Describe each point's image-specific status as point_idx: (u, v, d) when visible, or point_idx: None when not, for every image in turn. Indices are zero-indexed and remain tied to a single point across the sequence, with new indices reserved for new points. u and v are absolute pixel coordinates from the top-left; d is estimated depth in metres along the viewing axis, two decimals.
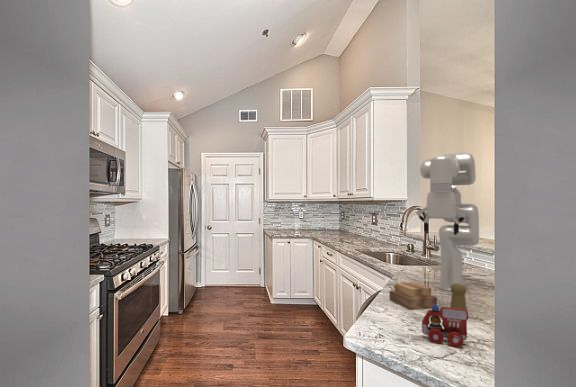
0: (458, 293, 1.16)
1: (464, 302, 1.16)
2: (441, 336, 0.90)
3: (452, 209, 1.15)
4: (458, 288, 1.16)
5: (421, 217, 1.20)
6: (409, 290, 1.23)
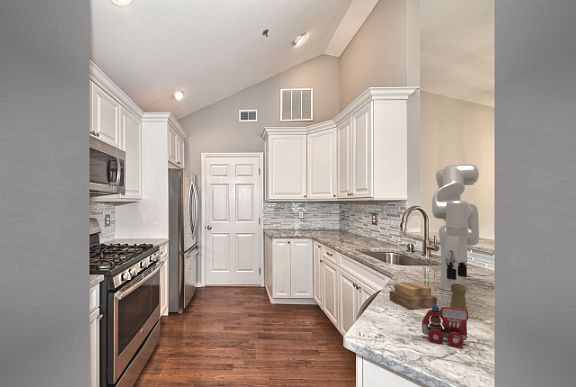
0: (458, 293, 1.16)
1: (464, 302, 1.16)
2: (441, 336, 0.90)
3: (466, 252, 1.19)
4: (458, 288, 1.16)
5: (451, 263, 1.13)
6: (409, 290, 1.23)
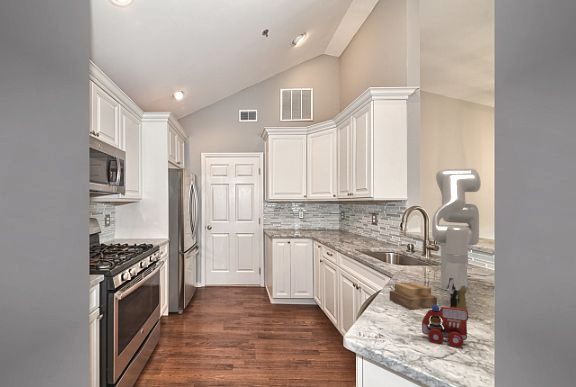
0: None
1: (464, 302, 1.16)
2: (441, 336, 0.90)
3: (467, 279, 1.19)
4: None
5: (455, 293, 1.15)
6: (409, 290, 1.23)
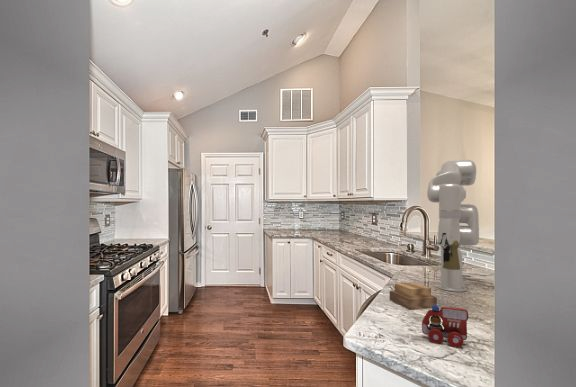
0: (451, 247, 1.18)
1: (457, 256, 1.18)
2: (441, 336, 0.90)
3: (459, 235, 1.22)
4: None
5: (448, 248, 1.18)
6: (409, 290, 1.23)
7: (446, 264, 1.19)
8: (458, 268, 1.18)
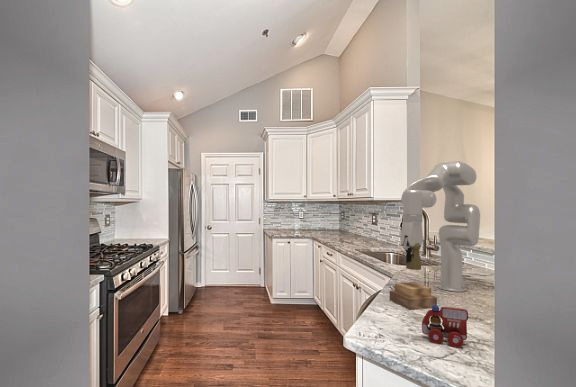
0: (413, 249, 1.27)
1: (418, 257, 1.27)
2: (441, 336, 0.90)
3: (422, 237, 1.31)
4: None
5: (409, 249, 1.27)
6: (409, 290, 1.23)
7: (408, 264, 1.28)
8: (419, 268, 1.26)
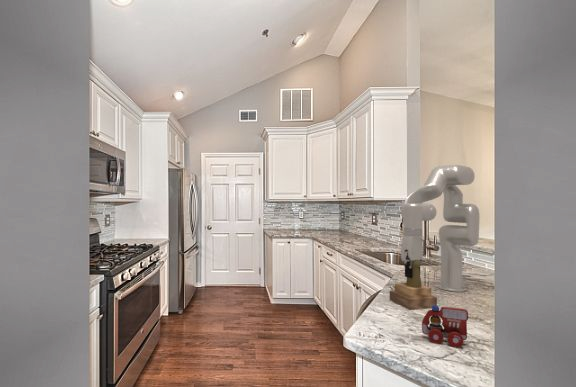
0: (413, 266, 1.27)
1: (418, 275, 1.27)
2: (441, 336, 0.90)
3: (422, 251, 1.30)
4: (413, 262, 1.27)
5: (408, 263, 1.26)
6: (409, 290, 1.23)
7: (408, 282, 1.28)
8: (419, 286, 1.26)
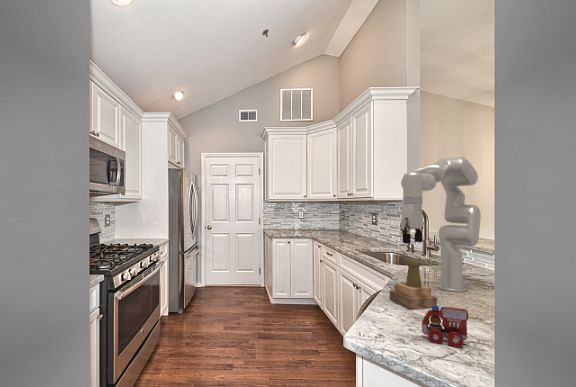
0: (413, 266, 1.27)
1: (418, 275, 1.27)
2: (441, 336, 0.90)
3: (422, 220, 1.31)
4: (413, 262, 1.27)
5: (406, 228, 1.25)
6: (409, 290, 1.23)
7: (408, 282, 1.28)
8: (419, 286, 1.26)
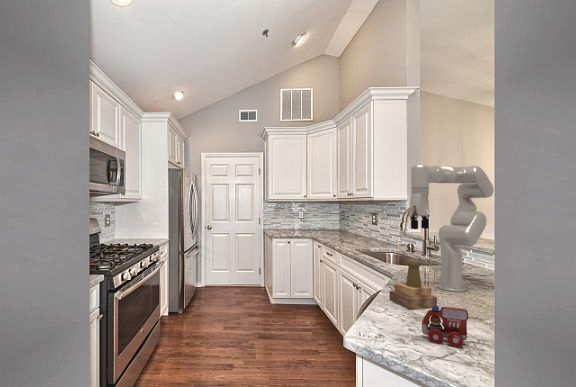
0: (413, 266, 1.27)
1: (418, 275, 1.27)
2: (441, 336, 0.90)
3: (428, 208, 1.44)
4: (413, 262, 1.27)
5: (414, 215, 1.38)
6: (409, 290, 1.23)
7: (408, 282, 1.28)
8: (419, 286, 1.26)
